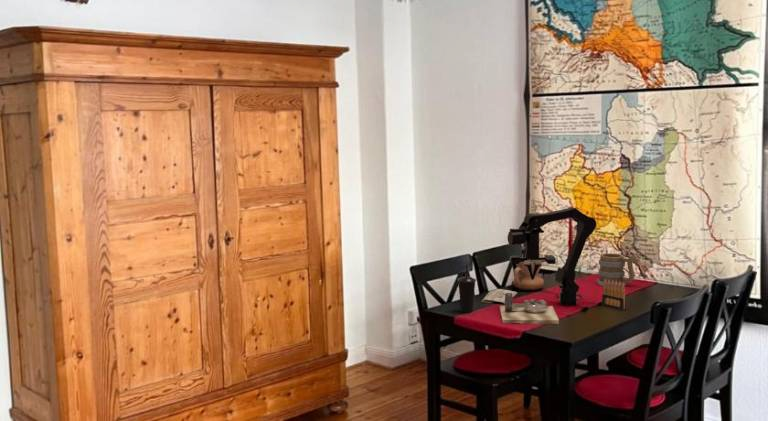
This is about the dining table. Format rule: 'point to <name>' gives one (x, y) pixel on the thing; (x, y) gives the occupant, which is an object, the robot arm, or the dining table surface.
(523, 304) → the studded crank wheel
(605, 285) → the ammunition clip
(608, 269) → the tankard
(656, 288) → the dining table surface
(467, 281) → the drinking cup
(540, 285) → the ceramic jug
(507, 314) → the birch board
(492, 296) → the newspaper
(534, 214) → the robot arm
